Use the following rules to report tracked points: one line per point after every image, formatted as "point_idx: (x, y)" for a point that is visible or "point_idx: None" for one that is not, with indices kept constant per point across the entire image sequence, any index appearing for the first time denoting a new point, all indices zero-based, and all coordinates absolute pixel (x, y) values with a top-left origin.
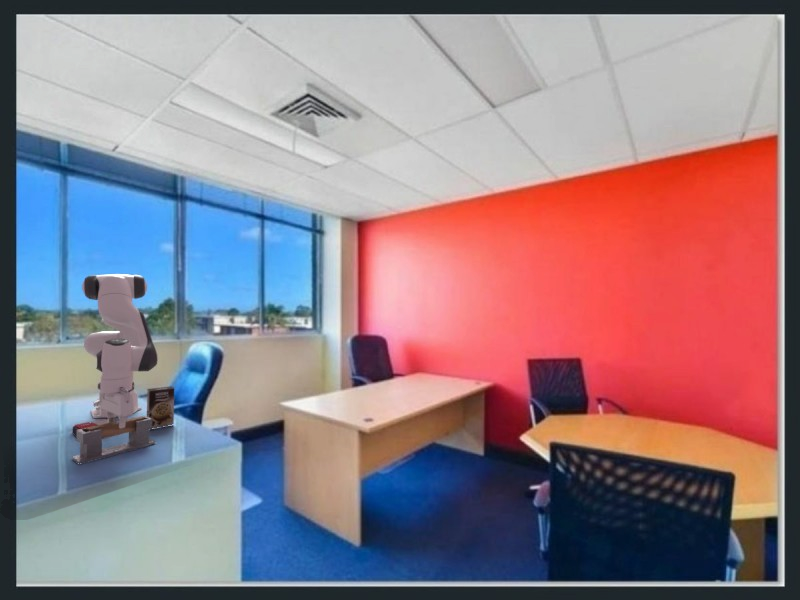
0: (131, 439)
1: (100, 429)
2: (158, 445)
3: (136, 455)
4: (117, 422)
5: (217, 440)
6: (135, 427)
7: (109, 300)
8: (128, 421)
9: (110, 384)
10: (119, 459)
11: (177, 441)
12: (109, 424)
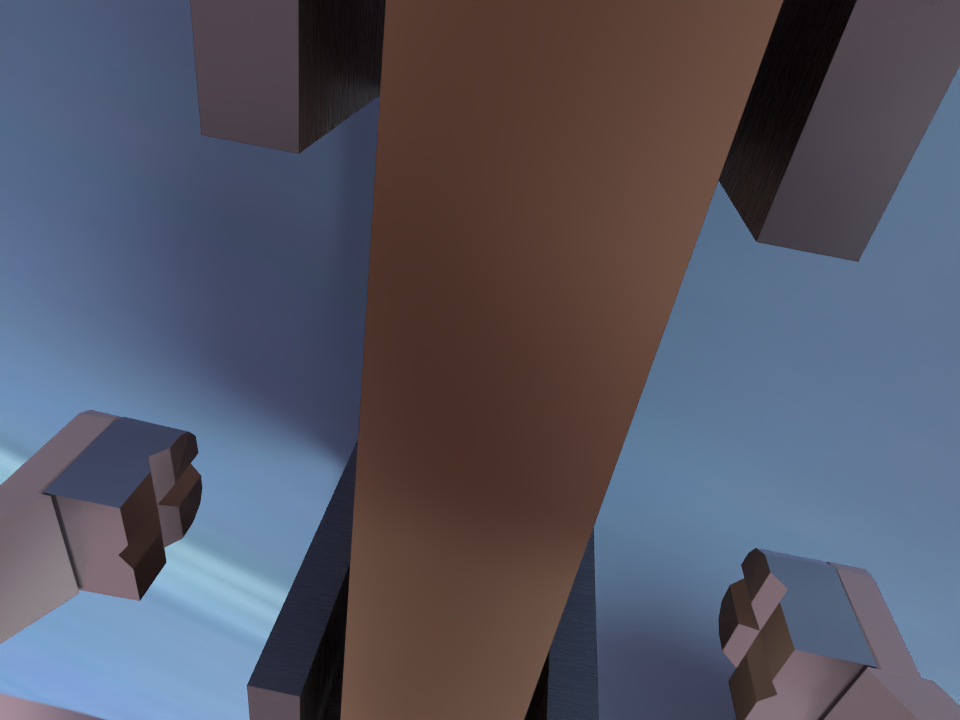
0: None
1: (265, 122)
2: (298, 512)
3: (164, 284)
4: (441, 579)
5: (52, 675)
6: (326, 600)
7: None
8: (345, 669)
9: None
10: (172, 126)
11: (266, 605)
12: (424, 437)
